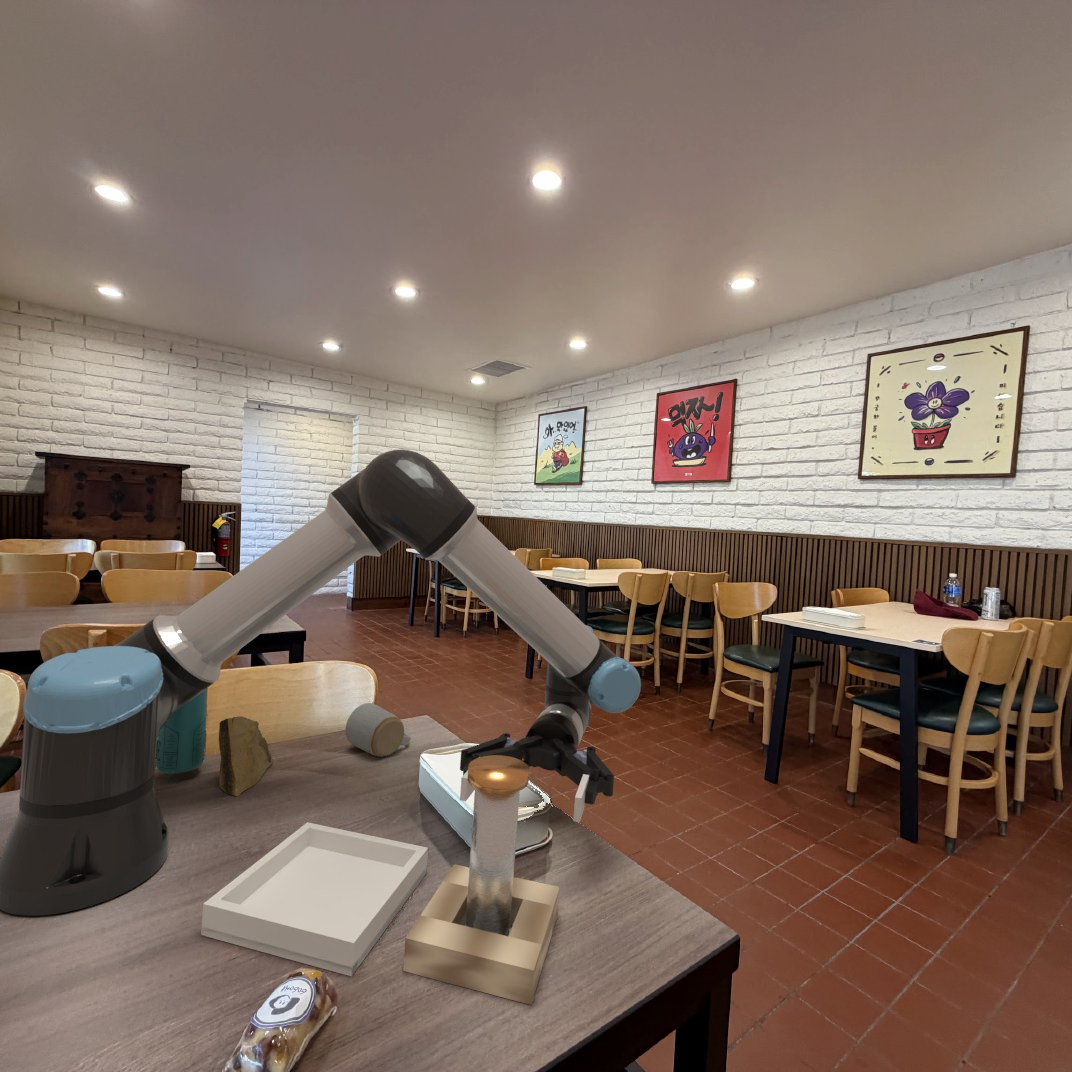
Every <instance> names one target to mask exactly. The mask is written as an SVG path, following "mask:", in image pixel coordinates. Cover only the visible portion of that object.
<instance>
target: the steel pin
mask: <svg viewBox="0 0 1072 1072" xmlns="http://www.w3.org/2000/svg"><path fill="white" fill-rule="evenodd" d="M529 777H530V767H528V765H527V764H526V763H525V762H523V760H522V761H521V760H519V759H516V758H513V757H509V756H501V755H491V756H483V757H479V758H477V759H474V760H473V761H471V762H470V763H469V766H468V779H467V780H468V783H469V784H470V785H471V786H472V787H474V788H475V790H474V795H473V796H474V797H473V798H474V799H473V811H472V812H473V814H472V823H471V825H472V826H471V838H470V839H471V840H470V842H471V843H470V851H469V852H470V853H469V881H468V895H467V910H466V924H465V926H467V927H471V928H475V929H480V930H484V931H488V932H492V933H496V934H500V935H504V936H509V933H510V931H511V926H510V920H511V906H512V892H513V878H514V876H515V861H516V847H517V846H516V845H517V833H518V820H519V817H518V816H519V805H520V794H521V793H520V791H523V790H524V789H525V788H526V787H527V786H528V784H529V780H530V779H529Z"/></svg>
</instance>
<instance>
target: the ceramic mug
mask: <svg viewBox="0 0 1072 1072" xmlns="http://www.w3.org/2000/svg"><path fill="white" fill-rule="evenodd" d="M345 737H346V740H347V741H348V742H349V744H350V745H352V746H353V747H356V748H357V749H360V750H362V751H364V752H366V753H368V754H369V755H370V754H371V755H372V756H375V757H380V758H384V757H383V756H386V757H388V756H391V755H392V754H394V753H393V752H396V751H397V750H398V749H399V747H400V746H405V745H407V744H408V743H410V740H411V737H410V735H408V734H406V733H405V727H404V723H403V722H402V720H401V719H400V718H399V717H397V715H395V714H394V713H392V712H390V711H388V710H386V709H384V708H383V707H381V706H379V705H377V704H375V703H373V702H367V703H365V702H364V703H363V704H361V705H359V706H357V707H356V708H355V709H354V710H353V711H352V713H351V714H350V715H349V716H348V719H347V721H346V725H345ZM408 745H409V744H408ZM408 745H407V746H408ZM405 747H406V746H405ZM387 755H388V756H387Z"/></svg>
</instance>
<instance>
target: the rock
mask: <svg viewBox="0 0 1072 1072" xmlns="http://www.w3.org/2000/svg"><path fill="white" fill-rule="evenodd" d="M262 735H263V734H262V732H261V730H260V728H259V721H256V720H253V719H250V718H247V717H245V716H239V715H238V716H234V717H232V718H231V717H227V718H225V719H222V720H221V721H220V722H219V729H218V745H219V752H220V753H219V754H220V755H219V756H220V764H219V775H218V777H219V788H220V789H221V790H222V791H224V792H225V793H226V794H228V795H231V796H233V797H239V796H240V795H241V794H242V793H243V792H245V791H247V790H248V789H251V788H252V787H253V786H256V784H257V783H259V781H260V780H261V778H262V777H263V775H264V774H265V772H266V770H267V769H268V768H269V767H271V765H273V763H274V760H273V757H272V753H271V752H270V749H269V744H268V742H267V740H266V738H265V737H263V736H262Z"/></svg>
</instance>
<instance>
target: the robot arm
mask: <svg viewBox="0 0 1072 1072" xmlns="http://www.w3.org/2000/svg"><path fill="white" fill-rule="evenodd" d="M327 497H328V498H327V504H326V508H325V509H324V510H323V511H322V512H320V513H319V514H317V516H315V517H313V518H312V519H311V520H310V521H308V522H306V523H305V524H304V525H302V526H301V527H300V528H298V529H297V530H295V531H294V532H293V533H291V534H289V536H287V537H286V538H284V539H283V540H282V541H280V542H278V544H276V545H275V546H273V547H272V548H270V549H269V550H267V551H266V552H264V553H263V554H262V555H260V556H259V557H258V558H257V559H255V560H254V561H252V562H251V563H250V564H247V566H245V567H244V568H242V569H241V570H240V571H238V572H237V573H235V574H234V575H233V576H231V577H230V578H229V579H227V580H226V581H224V582H223V583H221V584H220V585H219V586H217V587H216V588H215V589H213V590H212V591H210V592H209V593H208V594H206V595H205V596H203V597H202V598H201V599H199V600H197V602H195V603H194V604H192V605H191V606H190V607H188V608H186V609H185V610H183V612H180V614H178V615H164V614H160V615H157V616H156V617H154V618H153V619H151V620H150V621H148V622H147V623H146V624H144V625H143V626H142V627H140V628H139V629H137V630H136V631H134V632H133V633H131V634H130V635H129V636H128V637H125V639H123V640H121V641H120V642H119V643H117V644H115V645H109V646H108V645H106V646H97V647H88V648H83V649H79V650H77V651H76V652H65V653H63V654H60V655H57V656H55V657H52V658H50V659H48V660H46V661H44V662H43V663H41V664H40V665H39V666H38V667H37V668H35V670H34V671H33V672H32V673H31V674H30V677H29V679H28V682H27V690H26V694H25V695H24V701H23V702H22V703H23V704H22V707H23V708H22V711H23V715H24V716H23V733H22V751H21V754H22V755H21V771H20V786H19V804H18V805H19V806H18V813H17V817H16V820H15V822H14V824H13V826H12V829H11V830H10V833H9V835H8V838H7V839H6V842H5V845H4V847H3V849H2V853H1V855H0V911H2V912H4V913H8V914H10V915H11V914H12V915H18V916H31V917H32V916H33V917H34V916H47V915H48V916H49V915H55V914H57V915H58V914H62V913H67V912H73V911H77V910H80V909H85V908H89V907H91V906H95V905H97V904H100V903H103V902H106V901H109V900H111V899H113V898H116V897H118V896H121V895H122V894H124V893H127V892H129V891H130V890H133V889H134V888H136V887H137V886H139V885H140V884H143V883H144V882H145V881H147V880H148V879H149V878H150V877H152V876H153V875H154V874H155V873H156V872H157V871H159V870H160V868H161V867H162V866H163V865H164V863H165V862H166V859H167V857H168V854H169V838H170V837H169V829H168V826H167V824H166V823H165V819H164V816H163V812H162V809H161V806H160V803H159V800H158V798H157V794H156V792H155V791H156V790H155V774H156V751H157V738H158V732H159V731H160V729H161V728H162V727H163V726H164V725H165V723H166V722H167V720H168V719H169V718H170V717H171V716H172V715H173V714H174V713H176V712H177V711H178V710H179V709H180V708H182V707H183V706H184V705H186V704H187V703H188V702H190V701H191V700H192V699H194V698H195V697H196V696H197V695H199V694H200V693H201V692H203V691H204V690H205V689H207V688H208V689H209V687H210V686H212V685H213V684H214V683H216V682H217V681H218V680H219V678H220V676H221V668H222V664H223V662H226V660H227V659H229V658H231V657H233V655H235V653H237V652H238V651H239V650H241V649H242V648H243V647H244V646H246V645H247V644H249V643H250V642H251V641H253V640H254V639H256V638H257V637H258V636H259V635H261V634H263V632H265V631H266V630H267V629H268V628H270V627H271V626H273V625H274V624H276V623H277V622H278V621H280V619H282V618H283V617H285V616H286V615H287V614H289V613H290V612H291V611H293V610H294V609H295V608H296V607H298V606H299V605H301V604H302V603H303V602H305V600H307V599H309V597H311V596H312V595H314V594H315V593H316V592H318V591H319V590H321V588H324V586H326V585H327V584H328V583H329V582H331V581H332V580H333V579H335V578H336V577H338V575H340V574H341V573H343V572H344V571H346V570H347V569H348V568H349V567H351V566H352V565H353V564H355V563H356V562H357V561H359V560H360V559H361V558H362V557H365V556H369V557H377V558H378V557H381V556H382V555H383V554H386V552H387V551H389V550H390V549H391V548H393V547H394V546H395V545H397V544H398V543H400V541H401V542H404V543H406V544H407V545H408V546H410V547H411V548H412V549H413V550H414V551H415V552H417V554H419V555H420V556H421V557H422V558H423V559H425V561H435V560H436V561H437V562H439V563H440V564H441V565H442V566H443V567H444V568H446V569H447V571H448V572H450V573H451V574H452V575H453V576H454V577H455V578H456V579H457V580H459V581H460V582H461V583H462V584H463V585H464V586H465V587H466V588H467V589H468V590H469V591H470V592H472V593H473V594H474V595H475V596H476V597H477V598H478V599H479V600H480V601H481V602H482V603H484V604H485V605H486V606H487V608H489V609H490V610H491V611H492V612H493V613H495V615H496V616H498V617H499V619H501V621H503V622H504V623H505V624H506V625H507V626H508V627H509V628H511V629H512V630H513V632H514V633H516V634H517V635H518V636H519V637H521V639H522V640H524V642H525V643H527V644H528V645H529V646H530V647H531V648H532V649H534V651H535V652H537V654H538V655H540V656H541V657H542V658H543V659H544V660H545V661H546V662H547V665H546V666H547V667H546V684H545V693H544V694H545V695H544V708H543V710H542V711H541V713H540V714H539V715H538V716H537V717H536V719H535V721H534V722H533V723H532V725H531V726H530V727H529V729H528V731H527V733H526V735H525V737H523V738H520V740H513V739H512V738H511V734H510V733H508V732H504V733H502V734H501V735H499V736H498V737H497V738H492V739H490V740H487V741H485V742H482V743H479V744H476V745H473V746H471V747H467V748H465V749H462V750H461V751H460V763H459V765H460V766H459V770H460V771H461V772H462V776H461V778H460V779H461V780H460V795H459V801H462V802H467V800H469V798H470V797H471V796H472V794H473V793H474V792H475V788H474V787H472V786H471V785H470V784H469V783H468V780H467V779H468V766H469V763H470V762H471V761H473V760H474V759H477V758H479V757H483V756H491V755H501V756H509V757H513V758H516V759H519V760H521V761H523V762H525V763H526V764H527V765H528V767H529V768H530V767H533V768H537V767H538V768H540V769H542V770H546V771H553V772H554V771H555V772H557V774H558V775H560V776H561V777H567V778H568V779H569V780H570V781H572V782H573V783H574V784H575V785H576V786H578V788H577V791H576V793H575V797H574V806H573V807H574V808H573V817H572V818H573V819H572V821H573V822H576V823H577V822H578V823H581V821H582V816H583V813H584V810H585V807H586V805H587V804H588V805H594V804H595V803H596V799H597V796H598V795H599V794H600V793H602V795H604V796H605V797H609V798H610V797H612V796H613V795H614V782H615V781H614V780H615V775H614V774H613V772H612V771H611V770H610V768H608V766H607V765H606V764H605V763H604V762H603V761H602V759H601V758H600V757H599V756H598V754H597V753H596V751H597V750H596V747H595V746H587V747H586V749H583V751H582V750H578V747H579V745H580V743H581V740H582V738H583V735H584V734H585V731H586V729H587V728H588V726H589V724H590V722H591V716H592V705H594V706H595V707H596V708H597V709H601V710H603V711H605V712H607V713H610V714H619V713H623V712H626V711H627V710H629V709H630V708H631V707H632V706H633V705H634V704H635V703H636V701H637V699H638V698H639V696H640V693H641V688H642V682H641V681H642V679H641V677H640V673H639V671H638V670H637V669H636V667H635V666H633V665H632V664H631V663H629V662H628V660H627V659H624V658H623V657H622V658H621V657H620V656H618V655H616V654H615V653H614V652H613V650H611V649H610V648H609V647H608V646H607V645H606V644H605V643H604V642H603V641H602V640H600V639H599V638H598V635H596V634H595V632H594V629H593V628H592V627H591V626H589V625H586V624H585V623H584V622H583V621H582V620H580V618H578V616H577V615H576V614H575V613H574V612H572V611H571V610H570V609H569V608H568V607H567V606H566V605H565V604H564V603H563V602H562V601H561V600H560V599H559V598H558V597H557V596H556V595H555V594H554V593H553V592H552V591H551V589H549V588H548V587H547V585H545V584H544V583H543V582H542V581H541V580H540V579H539V578H538V577H537V576H536V575H534V574H533V572H532V571H531V570H530V569H529V568H527V566H525V564H524V563H522V562H521V561H520V559H518V558H517V556H515V555H514V554H513V553H512V552H511V551H510V550H509V549H508V548H507V547H506V546H505V545H504V543H502V541H500V539H498V538H497V537H496V536H495V535H494V534H493V533H492V532H491V531H490V530H489V529H488V528H487V527H486V526H485V525H484V524H483V523H482V522H481V521H480V520H479V519H478V509H477V506H475V505H474V503H473V502H471V501H470V500H469V499H468V497H466V496H465V494H463V492H462V491H461V490H460V489H459V488H458V487H457V486H456V485H455V484H454V482H452V480H451V479H450V478H449V477H448V476H447V475H446V474H445V473H444V472H443V471H442V470H441V469H440V467H439V466H438V465H437V464H435V463H434V462H433V461H432V460H431V459H429V457H427V456H425V455H423V454H421V453H419V452H417V451H413V450H409V449H393V450H388V451H386V452H384V453H380V454H379V455H378V456H376V457H375V458H373V459H372V460H370V462H369V463H368V464H367V465H366V467H365V468H364V469H362V470H361V471H359V472H358V473H357V474H356V475H354V476H352V477H351V478H349V479H348V480H347V481H345V482H344V483H343V484H341V485H340V486H338V487H337V488H335V489H334V490H333V491H331V492H330V493H329V494H328V496H327ZM591 703H592V705H591Z"/></svg>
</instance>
